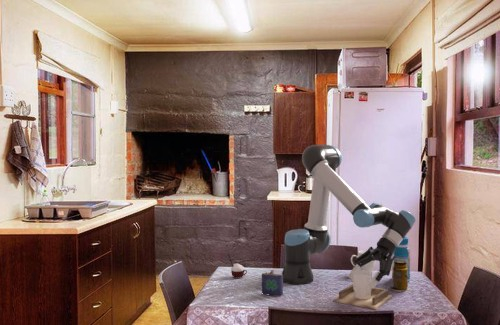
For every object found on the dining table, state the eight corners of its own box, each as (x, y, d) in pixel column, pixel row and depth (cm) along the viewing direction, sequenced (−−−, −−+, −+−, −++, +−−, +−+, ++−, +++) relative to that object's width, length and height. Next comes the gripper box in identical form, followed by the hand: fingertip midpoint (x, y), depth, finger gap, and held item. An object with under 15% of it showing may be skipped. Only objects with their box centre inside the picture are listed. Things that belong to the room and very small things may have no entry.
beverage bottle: (400, 282, 209) (399, 239, 209) (387, 278, 217) (387, 236, 217) (414, 280, 213) (414, 238, 213) (401, 276, 221) (401, 235, 220)
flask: (283, 294, 194) (283, 269, 194) (282, 296, 191) (281, 271, 191) (262, 293, 196) (262, 268, 196) (260, 295, 194) (260, 270, 193)
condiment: (412, 289, 200) (411, 261, 200) (399, 292, 195) (399, 264, 195) (398, 285, 206) (398, 258, 206) (385, 288, 201) (385, 261, 201)
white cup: (350, 294, 190) (349, 270, 190) (368, 293, 191) (368, 270, 191) (356, 300, 183) (355, 275, 182) (375, 299, 183) (375, 274, 183)
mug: (372, 272, 229) (372, 249, 228) (377, 276, 220) (377, 253, 220) (348, 273, 228) (348, 250, 228) (353, 277, 220) (353, 253, 220)
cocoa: (247, 276, 225) (248, 252, 225) (245, 279, 219) (246, 254, 219) (228, 275, 227) (229, 251, 227) (225, 278, 220) (226, 253, 221)
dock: (333, 301, 184) (333, 292, 184) (351, 290, 199) (351, 282, 199) (376, 309, 174) (376, 300, 174) (392, 297, 188) (392, 289, 188)
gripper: (415, 253, 181) (385, 296, 175) (375, 243, 204) (347, 280, 198) (405, 241, 179) (374, 284, 173) (365, 232, 202) (337, 269, 196)
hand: (360, 282), depth 185 cm, fingers open, 13 cm apart
